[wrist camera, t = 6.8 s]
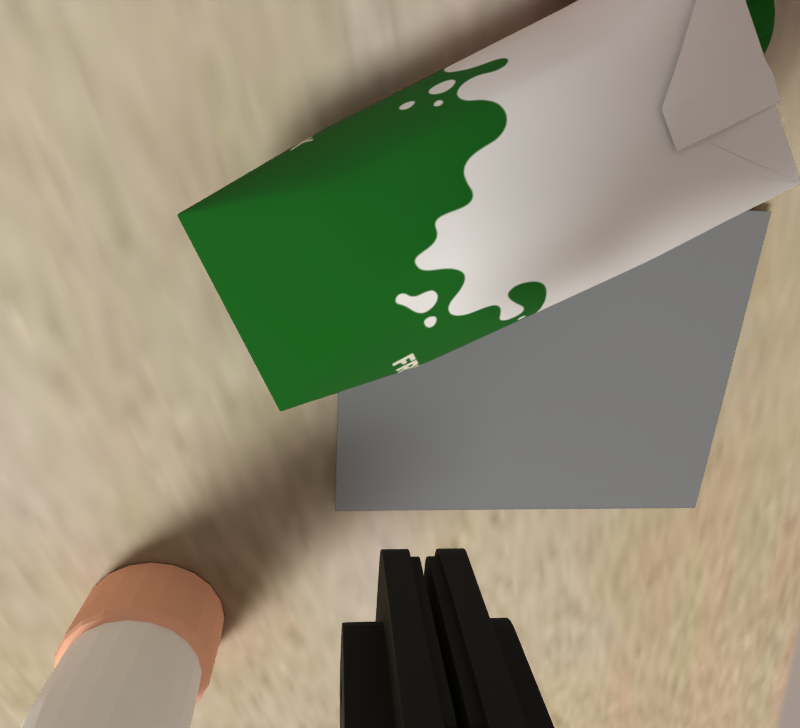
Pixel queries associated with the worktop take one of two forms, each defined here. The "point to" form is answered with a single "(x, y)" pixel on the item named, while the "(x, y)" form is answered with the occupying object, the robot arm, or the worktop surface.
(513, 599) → the worktop surface
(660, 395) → the mat
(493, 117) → the soya milk
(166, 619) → the pepper shaker
